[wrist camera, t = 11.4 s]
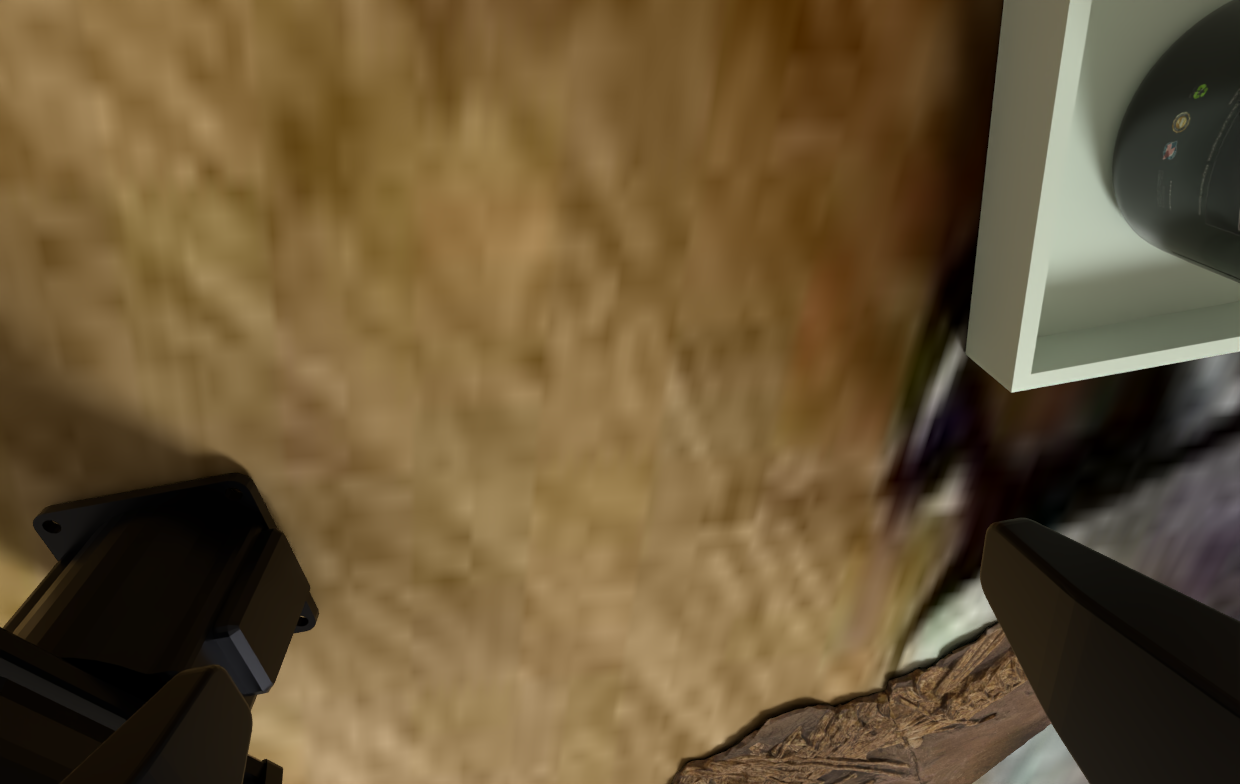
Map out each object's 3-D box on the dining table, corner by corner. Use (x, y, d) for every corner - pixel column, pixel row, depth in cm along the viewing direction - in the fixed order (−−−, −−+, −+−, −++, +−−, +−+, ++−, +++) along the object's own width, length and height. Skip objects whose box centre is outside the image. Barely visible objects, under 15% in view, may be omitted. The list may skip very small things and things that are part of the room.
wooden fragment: (1099, 567, 28) (1118, 586, 27) (1132, 715, 34) (1149, 735, 33) (540, 801, 32) (540, 824, 31) (647, 901, 38) (650, 924, 37)
